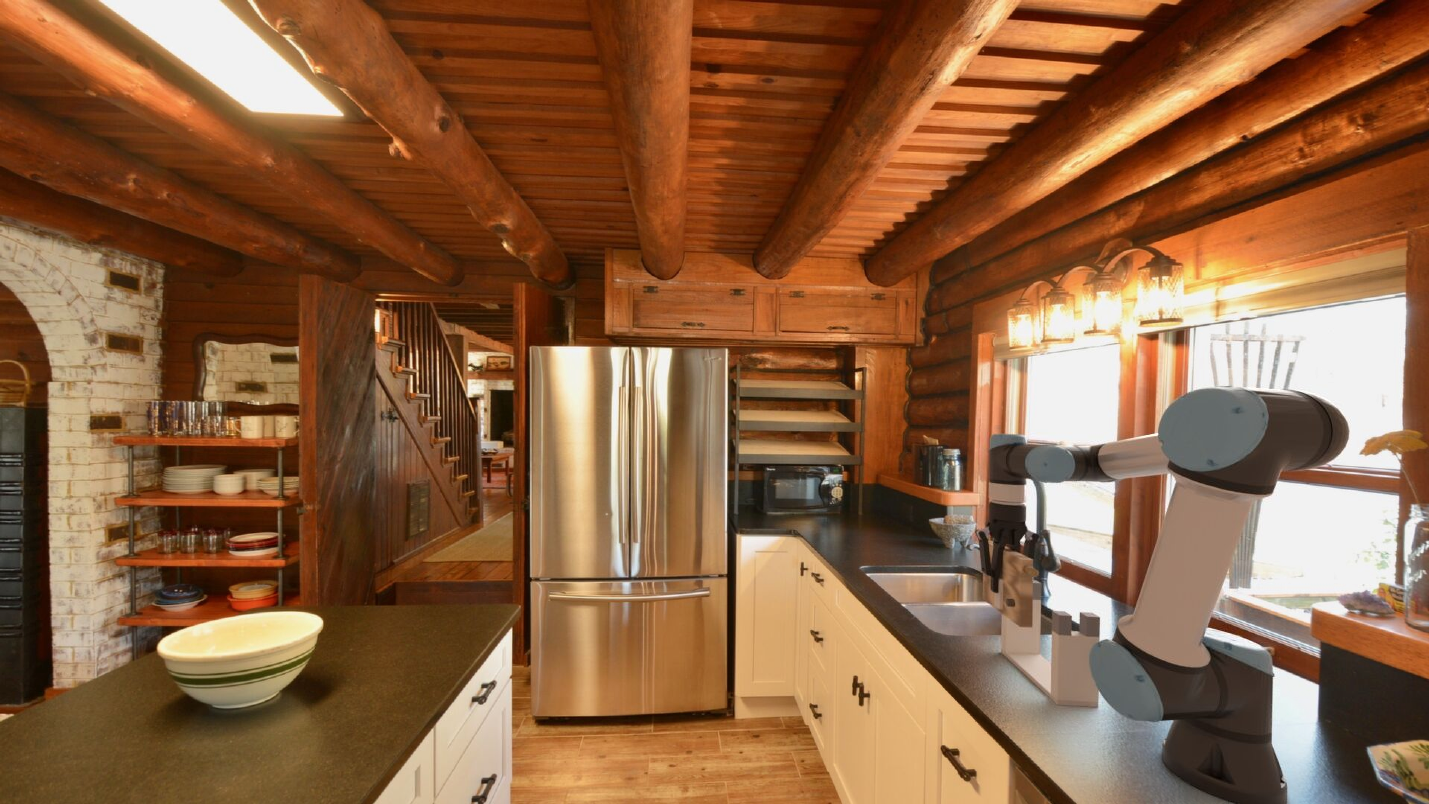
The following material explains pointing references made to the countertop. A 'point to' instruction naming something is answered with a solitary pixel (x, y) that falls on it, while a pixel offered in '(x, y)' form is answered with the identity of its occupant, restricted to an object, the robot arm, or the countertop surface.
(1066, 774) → the countertop surface
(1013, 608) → the oak door
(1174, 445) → the robot arm
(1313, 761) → the countertop surface
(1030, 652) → the cabinet frame
